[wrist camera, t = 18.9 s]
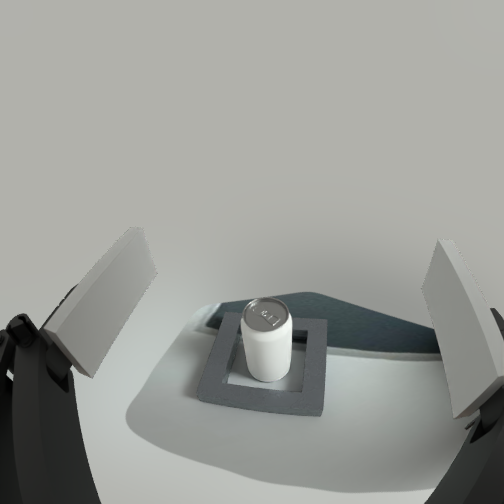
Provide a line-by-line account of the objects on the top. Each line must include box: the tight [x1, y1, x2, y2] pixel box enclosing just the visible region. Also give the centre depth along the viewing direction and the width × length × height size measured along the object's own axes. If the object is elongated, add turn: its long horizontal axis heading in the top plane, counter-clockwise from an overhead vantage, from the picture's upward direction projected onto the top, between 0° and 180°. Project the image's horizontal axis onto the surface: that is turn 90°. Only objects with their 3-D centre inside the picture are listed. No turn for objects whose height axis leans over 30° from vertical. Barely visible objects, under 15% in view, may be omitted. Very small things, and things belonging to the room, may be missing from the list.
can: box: [241, 297, 292, 382], centre depth 36 cm, size 6×6×12 cm
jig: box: [196, 312, 327, 416], centre depth 39 cm, size 17×16×2 cm
